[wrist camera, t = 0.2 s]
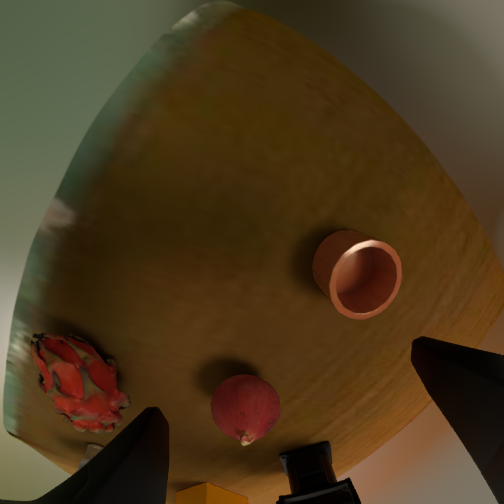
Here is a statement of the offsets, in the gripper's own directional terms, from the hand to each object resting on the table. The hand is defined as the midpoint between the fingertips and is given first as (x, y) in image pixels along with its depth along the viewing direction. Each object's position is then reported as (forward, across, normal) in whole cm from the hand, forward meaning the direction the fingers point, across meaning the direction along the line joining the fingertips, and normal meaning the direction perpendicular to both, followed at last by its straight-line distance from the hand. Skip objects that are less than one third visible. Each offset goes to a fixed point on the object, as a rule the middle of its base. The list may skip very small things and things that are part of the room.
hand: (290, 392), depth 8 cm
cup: (+14, -7, +2) cm, 16 cm away
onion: (+14, +4, +11) cm, 18 cm away
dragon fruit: (+14, +19, +6) cm, 24 cm away
